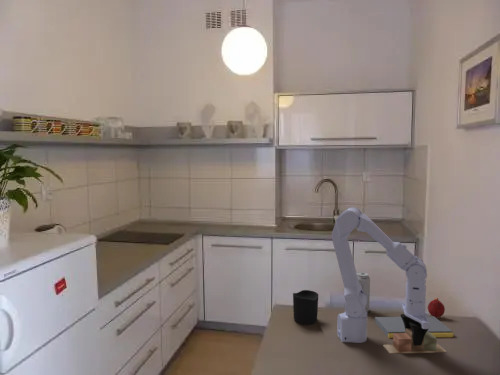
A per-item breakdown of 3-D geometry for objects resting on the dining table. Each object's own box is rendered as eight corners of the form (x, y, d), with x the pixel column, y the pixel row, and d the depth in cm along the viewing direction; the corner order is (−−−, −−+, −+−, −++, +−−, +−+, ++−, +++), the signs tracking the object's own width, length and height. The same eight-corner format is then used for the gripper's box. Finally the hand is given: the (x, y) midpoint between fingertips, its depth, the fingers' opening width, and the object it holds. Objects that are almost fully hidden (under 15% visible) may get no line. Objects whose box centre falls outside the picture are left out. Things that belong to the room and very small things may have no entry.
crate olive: (423, 351, 116) (424, 338, 116) (417, 344, 120) (417, 332, 120) (436, 350, 116) (436, 338, 116) (429, 344, 120) (429, 332, 120)
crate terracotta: (398, 351, 115) (398, 339, 115) (392, 345, 119) (393, 333, 119) (411, 351, 116) (411, 339, 115) (405, 345, 120) (405, 333, 119)
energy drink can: (350, 310, 149) (351, 274, 148) (357, 306, 154) (358, 270, 153) (365, 315, 145) (366, 277, 144) (371, 310, 150) (372, 273, 149)
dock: (388, 340, 125) (388, 332, 125) (374, 323, 138) (374, 317, 137) (453, 339, 126) (453, 331, 125) (433, 322, 138) (433, 316, 138)
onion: (446, 322, 139) (447, 301, 138) (429, 320, 140) (430, 300, 139) (441, 315, 145) (442, 295, 144) (425, 314, 146) (426, 294, 145)
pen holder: (319, 326, 136) (319, 299, 135) (293, 325, 136) (293, 298, 136) (316, 315, 145) (316, 290, 144) (292, 314, 146) (292, 289, 145)
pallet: (389, 357, 115) (390, 335, 114) (382, 349, 120) (383, 328, 119) (446, 356, 116) (447, 334, 115) (437, 348, 121) (438, 327, 120)
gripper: (440, 308, 109) (438, 352, 110) (416, 290, 124) (415, 330, 125) (416, 308, 109) (415, 353, 110) (395, 291, 124) (394, 330, 125)
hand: (414, 341), depth 118 cm, fingers open, 4 cm apart
